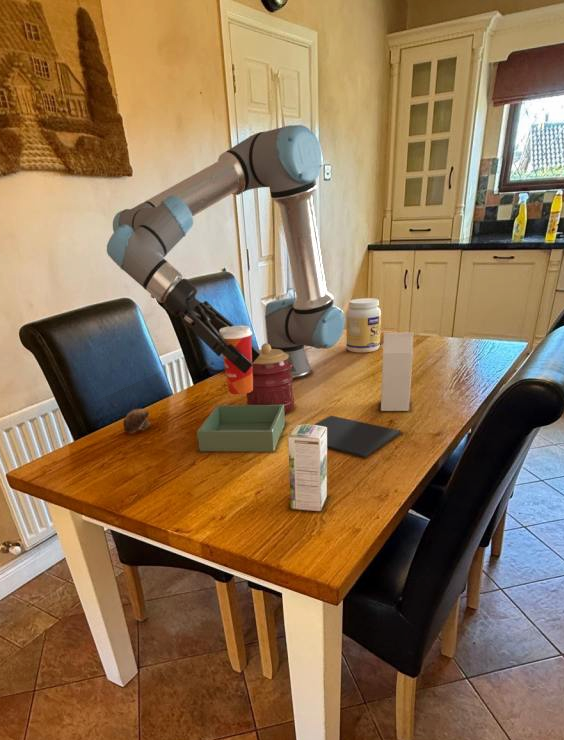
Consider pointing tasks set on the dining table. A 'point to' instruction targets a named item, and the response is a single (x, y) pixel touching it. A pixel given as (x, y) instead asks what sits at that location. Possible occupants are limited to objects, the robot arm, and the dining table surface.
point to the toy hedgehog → (136, 420)
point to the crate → (242, 428)
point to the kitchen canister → (272, 379)
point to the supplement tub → (363, 325)
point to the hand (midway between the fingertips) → (252, 363)
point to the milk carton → (396, 371)
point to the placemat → (355, 436)
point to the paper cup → (242, 343)
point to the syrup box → (308, 467)
